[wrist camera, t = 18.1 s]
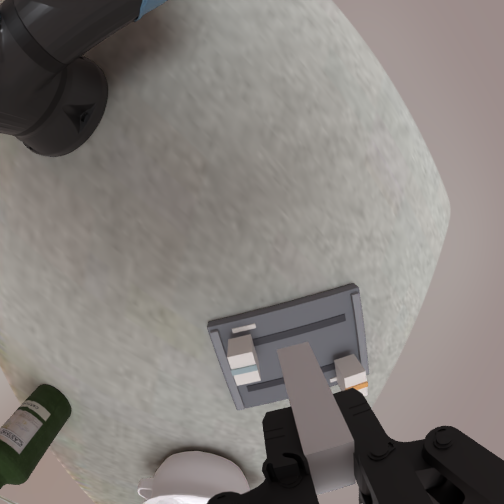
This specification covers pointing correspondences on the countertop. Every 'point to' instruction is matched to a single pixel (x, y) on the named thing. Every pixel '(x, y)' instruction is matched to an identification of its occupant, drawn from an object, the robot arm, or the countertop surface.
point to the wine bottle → (31, 433)
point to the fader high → (243, 360)
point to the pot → (192, 479)
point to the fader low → (351, 374)
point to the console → (293, 339)
